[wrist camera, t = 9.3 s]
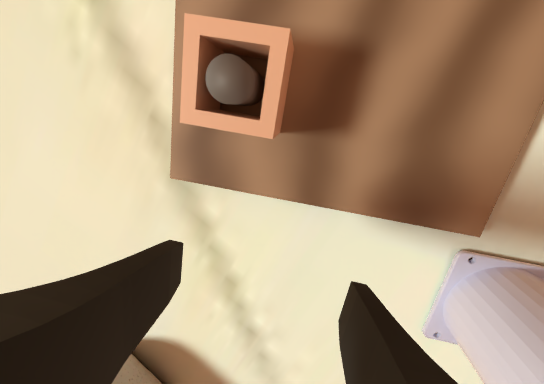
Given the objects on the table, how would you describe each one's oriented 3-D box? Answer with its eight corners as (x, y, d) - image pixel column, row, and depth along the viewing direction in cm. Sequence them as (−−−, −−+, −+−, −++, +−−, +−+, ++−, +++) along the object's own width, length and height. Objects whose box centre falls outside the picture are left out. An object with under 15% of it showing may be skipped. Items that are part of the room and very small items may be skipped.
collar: (294, 48, 15) (290, 28, 12) (280, 132, 17) (272, 139, 13) (213, 36, 16) (184, 12, 12) (207, 120, 17) (179, 122, 14)
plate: (574, 0, 14) (734, -65, 9) (470, 230, 18) (536, 278, 13) (185, -48, 15) (124, -129, 10) (176, 174, 20) (130, 197, 15)
